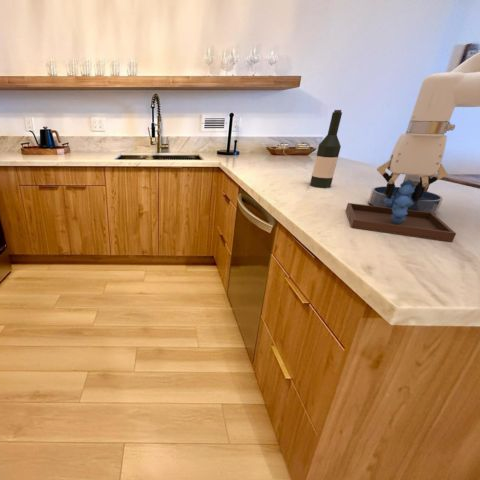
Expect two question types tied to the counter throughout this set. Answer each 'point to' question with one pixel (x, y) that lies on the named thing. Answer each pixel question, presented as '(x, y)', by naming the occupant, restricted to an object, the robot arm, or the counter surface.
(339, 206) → the counter surface
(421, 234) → the tray
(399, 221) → the grapes
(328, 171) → the wine bottle
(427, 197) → the bowl
